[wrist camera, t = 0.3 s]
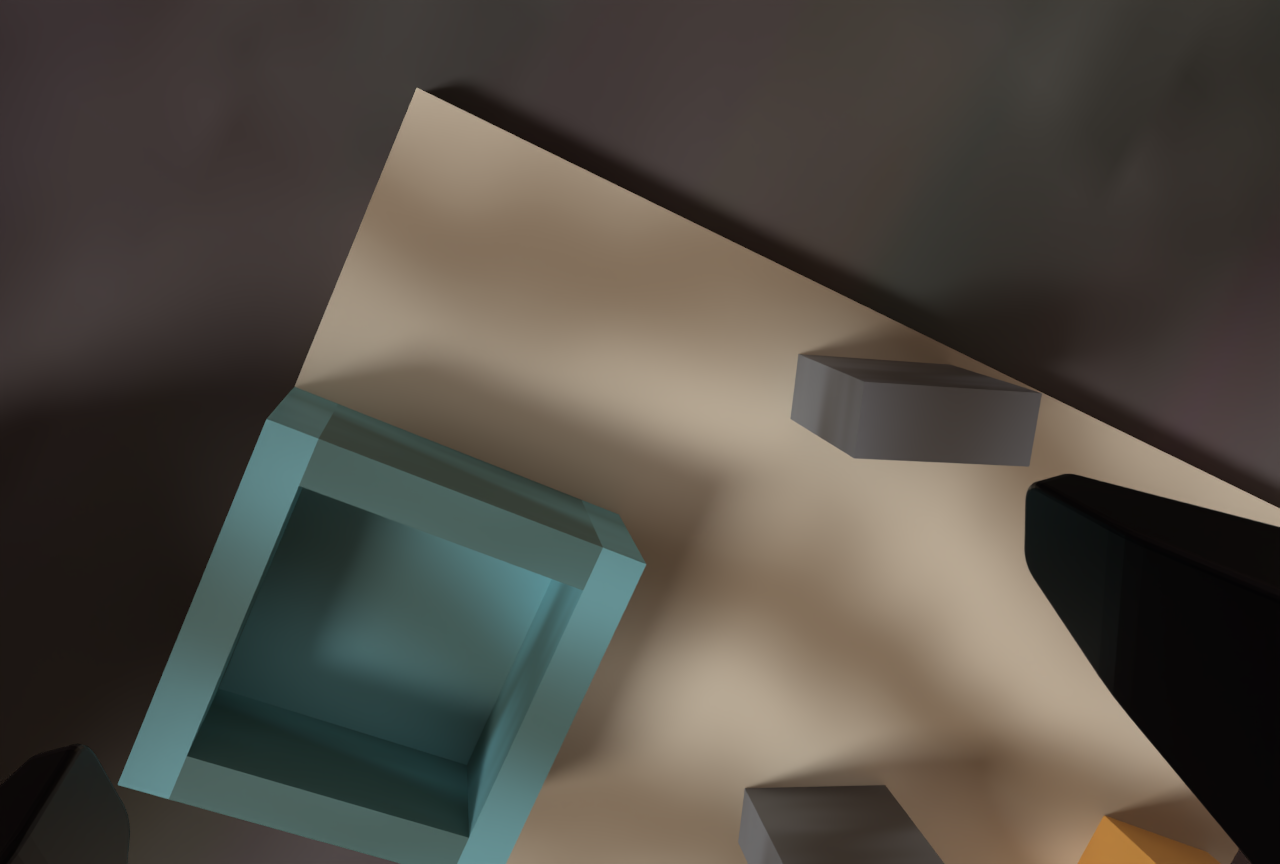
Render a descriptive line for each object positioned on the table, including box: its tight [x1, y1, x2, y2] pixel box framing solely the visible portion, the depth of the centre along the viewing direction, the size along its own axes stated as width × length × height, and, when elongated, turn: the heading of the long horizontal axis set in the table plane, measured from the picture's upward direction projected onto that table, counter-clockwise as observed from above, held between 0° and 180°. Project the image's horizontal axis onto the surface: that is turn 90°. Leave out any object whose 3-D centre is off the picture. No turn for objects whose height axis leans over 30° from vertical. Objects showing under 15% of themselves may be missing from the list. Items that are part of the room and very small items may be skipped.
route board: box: [118, 88, 1280, 864], centre depth 25 cm, size 17×30×5 cm, turn 65°
